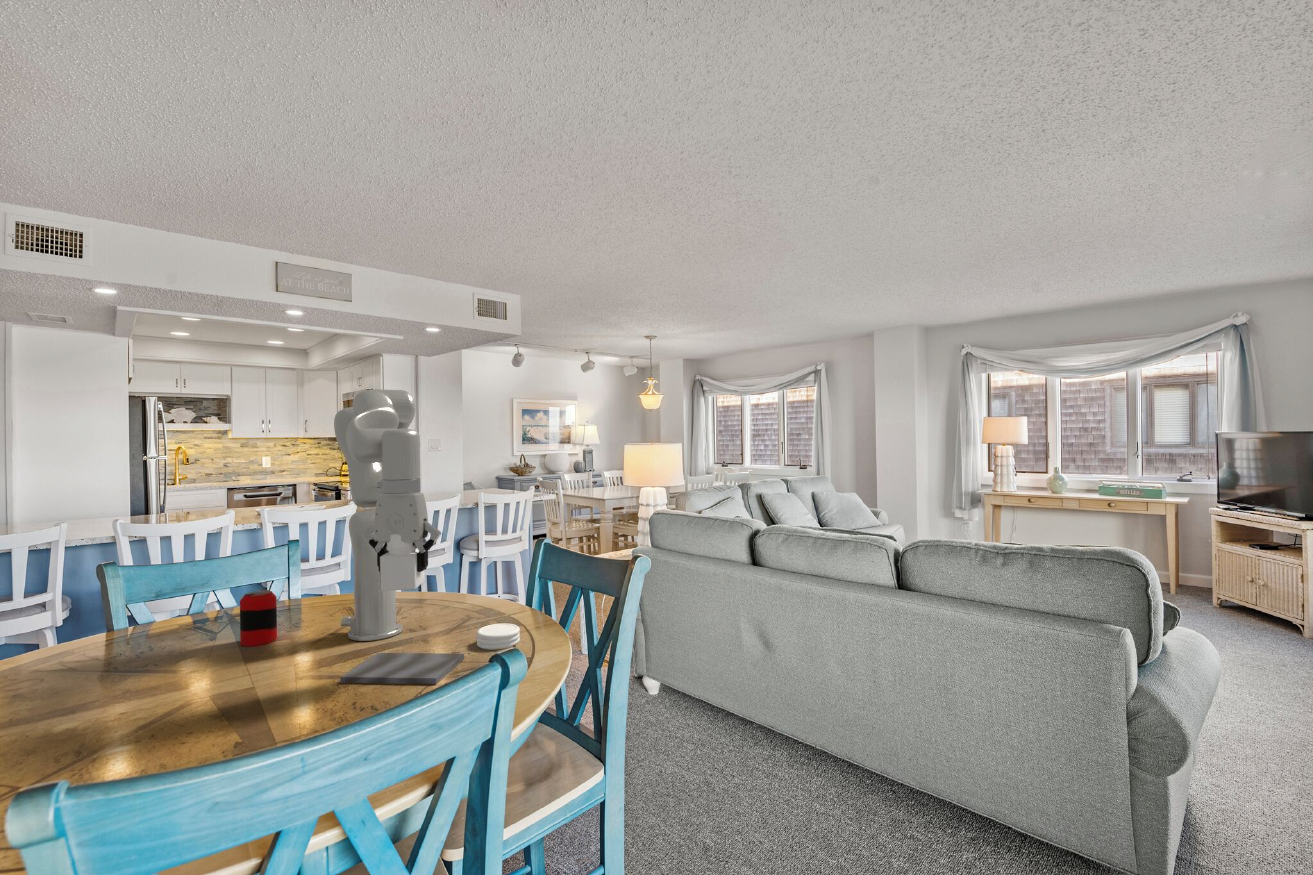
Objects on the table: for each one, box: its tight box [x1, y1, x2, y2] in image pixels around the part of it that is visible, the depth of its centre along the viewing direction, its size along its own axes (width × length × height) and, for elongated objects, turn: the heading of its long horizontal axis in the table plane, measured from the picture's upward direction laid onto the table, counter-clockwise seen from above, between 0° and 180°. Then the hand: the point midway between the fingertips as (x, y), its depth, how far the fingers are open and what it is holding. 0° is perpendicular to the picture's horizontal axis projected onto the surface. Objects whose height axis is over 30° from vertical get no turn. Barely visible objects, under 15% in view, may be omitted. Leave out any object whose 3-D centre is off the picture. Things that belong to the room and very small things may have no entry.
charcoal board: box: [339, 652, 465, 685], centre depth 130 cm, size 20×14×1 cm
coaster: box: [476, 622, 521, 651], centre depth 147 cm, size 10×10×4 cm
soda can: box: [239, 589, 278, 648], centre depth 151 cm, size 8×8×12 cm
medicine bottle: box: [380, 534, 426, 591], centre depth 131 cm, size 7×7×12 cm
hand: (402, 569), depth 131 cm, fingers closed on medicine bottle, 7 cm apart
